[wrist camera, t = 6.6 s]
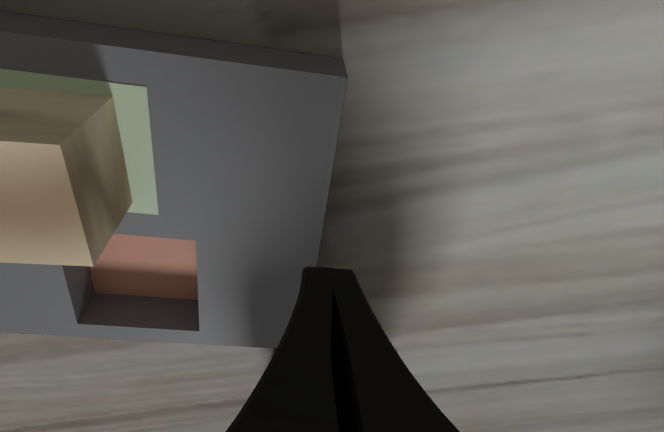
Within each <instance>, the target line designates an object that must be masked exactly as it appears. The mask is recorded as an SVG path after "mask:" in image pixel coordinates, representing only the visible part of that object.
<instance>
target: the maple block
mask: <svg viewBox="0 0 664 432" xmlns="http://www.w3.org/2000/svg"><path fill="white" fill-rule="evenodd" d="M132 203H133V201H132V196H131V190H130V185H129V180H128V174H127V169H126V164H125V158H124V153H123V148H122V142H121V137H120V132H119V126H118V121H117V116H116V110H115V105H114V100H113V96H103V95H90V94H77V93H65V92H52V91H39V90H27V89H14V88H2V87H0V262H1V263H24V264H47V265H69V266H92V267H94V265H95V263H96V262H97V260H98V258H99V257H100V255H101V253H102V252H103V250H104V249H105V247H106V245H107V244H108V242H109V240H110V239H111V237H112V236H113V234H114V232H115V231H116V229H117V227H118V226H119V224H120V223H121V221H122V219H123V218H124V216H125V214H126V213H127V211H128V209H129V208H130V206H131V205H132Z"/></svg>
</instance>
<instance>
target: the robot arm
mask: <svg viewBox="0 0 664 432" xmlns="http://www.w3.org/2000/svg"><path fill="white" fill-rule="evenodd" d="M226 432H460V431H459V430H458V429H457V428H456V427H455V426H454V425H453V424H452V423H451V422H450V421H449V419H448V418H447V417H446V416H445V415H444V414H443V413H442V412H441V411H440V409H439V408H438V407H437V406H436V404H435V403H434V402H433V401H432V400H431V398H430V397H429V396H428V395H427V393H426V392H425V391H424V390H423V388H422V387H421V386H420V384H419V383H418V382H417V380H416V379H415V378H414V376H413V375H412V374H411V372H410V371H409V370H408V368H407V367H406V365H405V364H404V362H403V361H402V359H401V358H400V356H399V355H398V353H397V352H396V350H395V349H394V347H393V346H392V344H391V342H390V341H389V339H388V338H387V336H386V334H385V332H384V331H383V329H382V327H381V325H380V324H379V322H378V320H377V319H376V317H375V315H374V313H373V311H372V309H371V307H370V305H369V303H368V302H367V300H366V298H365V296H364V293H363V291H362V289H361V287H360V285H359V283H358V280H357V278H356V276H355V273H354V272H353V271H352V270H346V269H334V268H321V267H309V266H307V267H305V268H304V269H303V270H302V277H301V284H300V291H299V295H298V298H297V301H296V304H295V307H294V310H293V312H292V315H291V318H290V320H289V323H288V325H287V328H286V330H285V332H284V334H283V336H282V338H281V341H280V343H279V345H278V347H277V349H276V351H275V353H274V355H273V357H272V359H271V361H270V363H269V365H268V366H267V368H266V370H265V372H264V373H263V375H262V377H261V379H260V380H259V382H258V384H257V385H256V387H255V389H254V390H253V392H252V394H251V395H250V397H249V398H248V400H247V402H246V403H245V405H244V406H243V408H242V409H241V411H240V412H239V414H238V415H237V417H236V418H235V420H234V421H233V422H232V424H231V425H230V426H229V428H228V429H227V431H226Z"/></svg>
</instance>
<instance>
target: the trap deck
mask: <svg viewBox="0 0 664 432" xmlns="http://www.w3.org/2000/svg"><path fill="white" fill-rule="evenodd" d="M347 78H348V77H347V73H346V69H345V65H344V61H343V59H342V58H335V57H327V56H320V55H313V54H306V53H299V52H291V51H284V50H277V49H270V48H262V47H255V46H248V45H241V44H234V43H226V42H219V41H212V40H205V39H198V38H190V37H183V36H176V35H169V34H162V33H154V32H147V31H140V30H133V29H126V28H118V27H111V26H104V25H97V24H90V23H82V22H75V21H68V20H61V19H54V18H46V17H39V16H32V15H25V14H18V13H10V12H3V11H0V87H2V88H14V89H27V90H39V91H52V92H65V93H77V94H90V95H103V96H113V100H114V105H115V110H116V116H117V121H118V126H119V132H120V137H121V142H122V148H123V153H124V158H125V164H126V169H127V174H128V180H129V185H130V190H131V196H132V201H133V203H132V205H131V206H130V208H129V209H128V211H127V213H126V214H125V216H124V218H123V219H122V221H121V223H120V224H119V226H118V227H117V229H116V231H115V232H114V234H113V236H112V237H111V239H110V240H109V242H108V244H107V245H106V247H105V249H104V250H103V252H102V253H101V255H100V257H99V258H98V260H97V262H96V263H95V265H94V267H92V266H69V265H47V264H24V263H1V262H0V332H3V333H20V334H37V335H54V336H72V337H89V338H106V339H124V340H141V341H158V342H175V343H193V344H210V345H227V346H244V347H262V348H277V347H278V345H279V343H280V341H281V338H282V336H283V334H284V332H285V330H286V328H287V325H288V323H289V320H290V318H291V315H292V312H293V310H294V307H295V304H296V301H297V298H298V295H299V291H300V284H301V277H302V270H303V269H304V268H305V267H307V266H309V267H316V266H317V260H318V254H319V248H320V242H321V236H322V230H323V224H324V218H325V212H326V206H327V200H328V193H329V187H330V181H331V175H332V169H333V163H334V157H335V151H336V145H337V139H338V133H339V127H340V121H341V115H342V109H343V103H344V97H345V91H346V84H347Z"/></svg>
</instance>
